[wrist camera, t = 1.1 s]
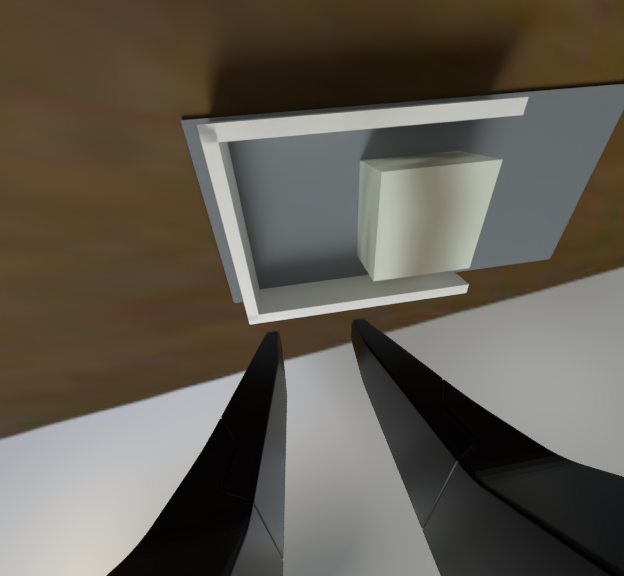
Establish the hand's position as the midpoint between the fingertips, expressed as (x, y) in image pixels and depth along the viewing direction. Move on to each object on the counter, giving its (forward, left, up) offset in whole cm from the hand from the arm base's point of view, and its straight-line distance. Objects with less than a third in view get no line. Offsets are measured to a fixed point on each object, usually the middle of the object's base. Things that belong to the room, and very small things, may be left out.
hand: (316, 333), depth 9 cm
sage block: (-9, 0, -12) cm, 15 cm away
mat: (-9, 0, -12) cm, 15 cm away
